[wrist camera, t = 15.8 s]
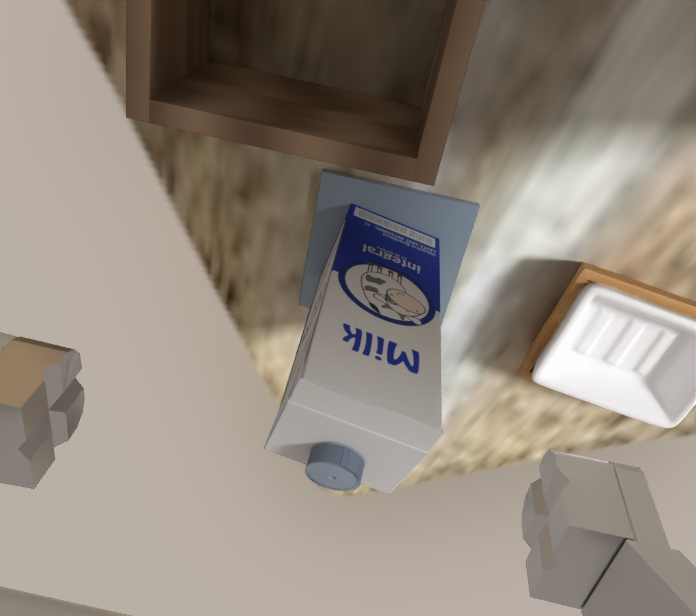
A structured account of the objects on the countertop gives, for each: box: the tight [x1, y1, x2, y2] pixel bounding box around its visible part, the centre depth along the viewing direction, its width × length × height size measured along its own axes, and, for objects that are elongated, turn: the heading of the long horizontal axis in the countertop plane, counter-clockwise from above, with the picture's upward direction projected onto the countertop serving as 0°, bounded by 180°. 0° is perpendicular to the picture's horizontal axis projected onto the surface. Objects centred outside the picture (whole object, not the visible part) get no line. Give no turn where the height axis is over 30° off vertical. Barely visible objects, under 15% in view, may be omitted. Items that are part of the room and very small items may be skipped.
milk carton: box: [264, 203, 444, 494], centre depth 39 cm, size 7×7×20 cm
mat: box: [299, 169, 480, 324], centre depth 47 cm, size 11×11×1 cm
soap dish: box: [517, 262, 696, 428], centre depth 46 cm, size 12×10×5 cm
